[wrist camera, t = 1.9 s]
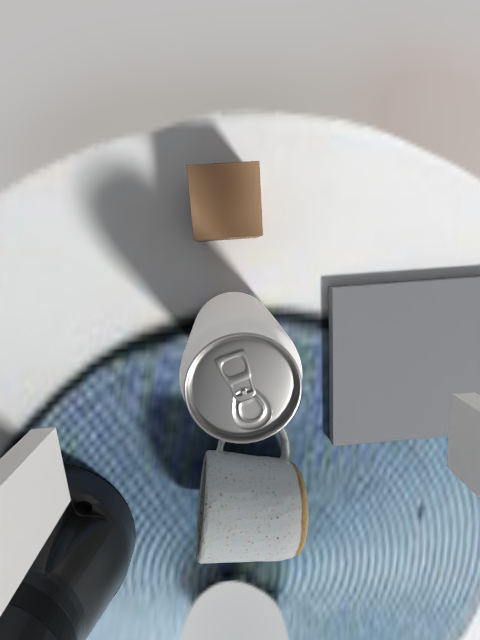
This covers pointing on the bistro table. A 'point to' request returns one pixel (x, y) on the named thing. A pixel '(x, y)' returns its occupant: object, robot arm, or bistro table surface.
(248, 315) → the can
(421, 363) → the mat
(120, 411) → the bistro table surface
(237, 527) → the ceramic mug
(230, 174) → the walnut block
